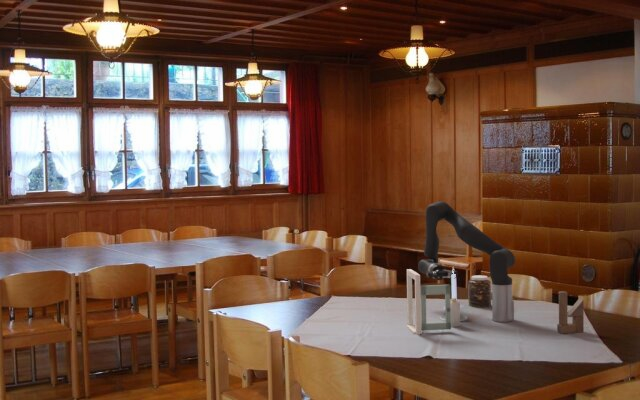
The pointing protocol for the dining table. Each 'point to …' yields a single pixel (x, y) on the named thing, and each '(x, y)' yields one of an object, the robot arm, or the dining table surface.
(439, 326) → the grey-green rectangular frame
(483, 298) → the jar
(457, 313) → the white candle
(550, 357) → the dining table surface
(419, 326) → the door frame
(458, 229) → the robot arm
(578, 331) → the wooden braced frame
